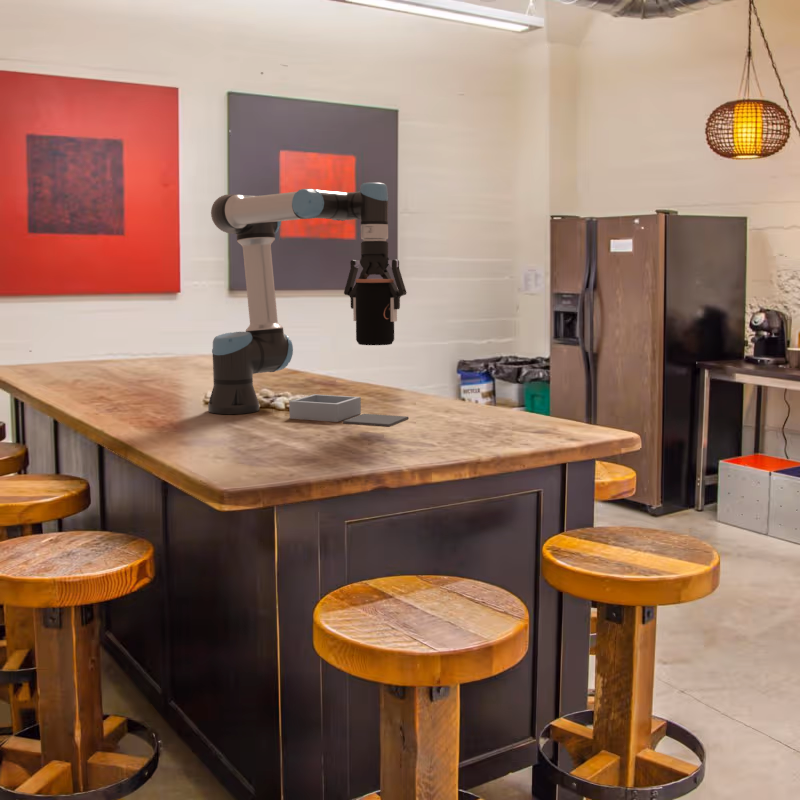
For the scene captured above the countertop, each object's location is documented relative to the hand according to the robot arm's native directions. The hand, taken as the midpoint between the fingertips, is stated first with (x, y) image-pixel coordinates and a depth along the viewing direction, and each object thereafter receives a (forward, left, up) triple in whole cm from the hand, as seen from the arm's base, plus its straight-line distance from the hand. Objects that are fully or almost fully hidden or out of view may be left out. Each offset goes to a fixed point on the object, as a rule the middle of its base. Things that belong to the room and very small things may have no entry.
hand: (375, 321), depth 255 cm
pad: (0, 0, -28) cm, 28 cm away
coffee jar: (0, 0, -7) cm, 7 cm away
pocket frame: (-17, +2, -28) cm, 33 cm away
